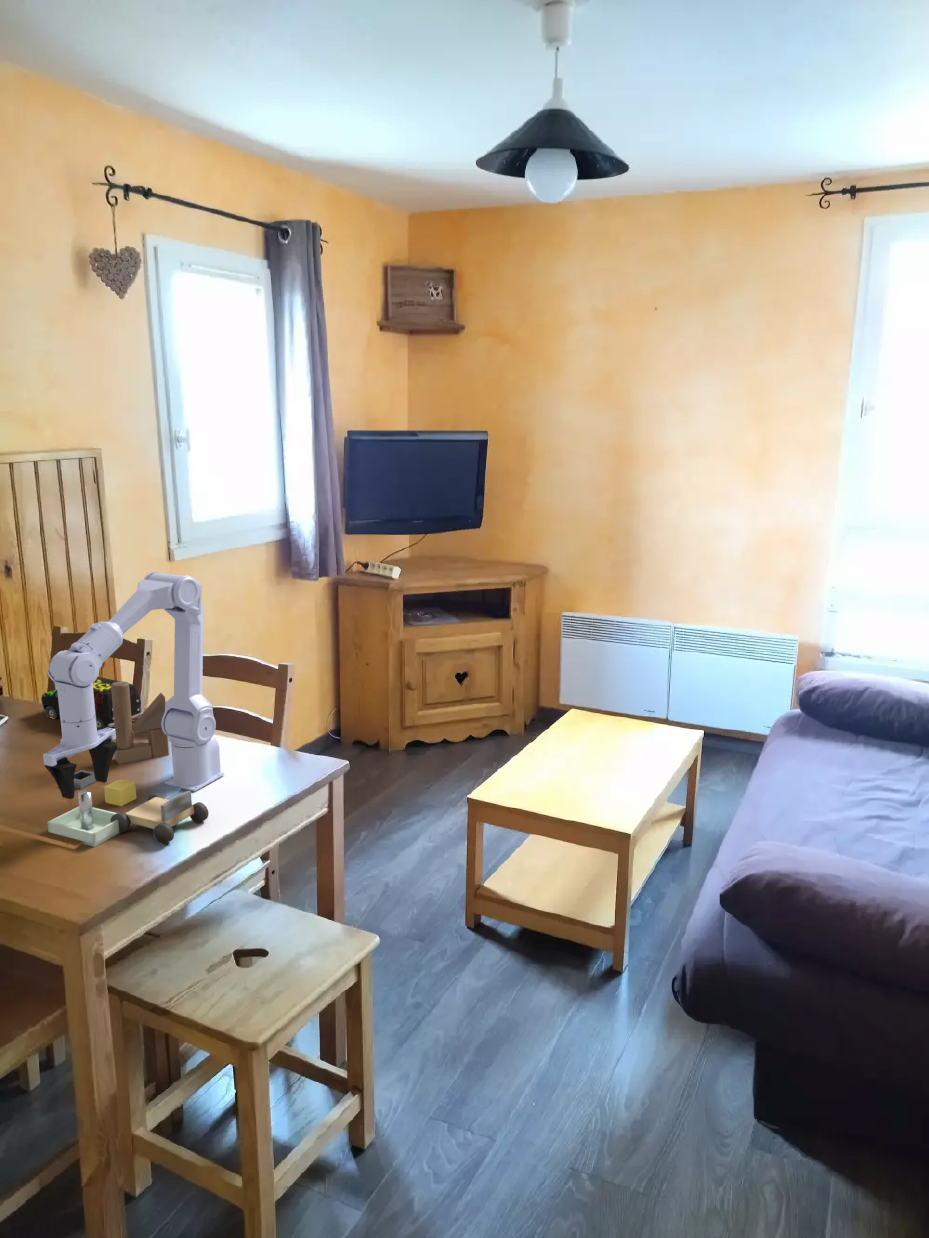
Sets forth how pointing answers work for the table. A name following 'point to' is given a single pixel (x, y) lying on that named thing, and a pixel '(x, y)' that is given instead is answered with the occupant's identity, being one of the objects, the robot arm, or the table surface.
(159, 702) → the wooden block
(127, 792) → the yellow cube
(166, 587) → the robot arm
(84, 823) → the pin
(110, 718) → the toy van
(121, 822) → the trolley
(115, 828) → the tray
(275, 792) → the table surface
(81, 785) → the pin socket
